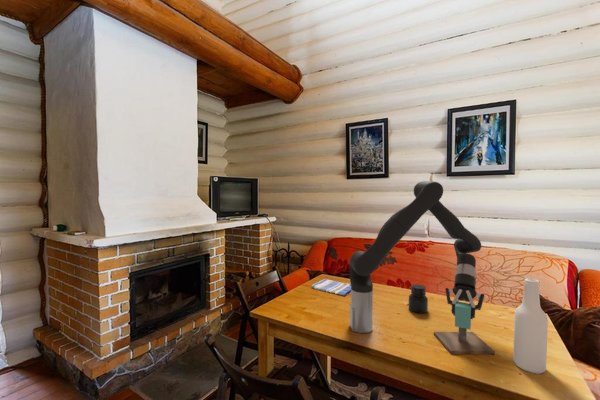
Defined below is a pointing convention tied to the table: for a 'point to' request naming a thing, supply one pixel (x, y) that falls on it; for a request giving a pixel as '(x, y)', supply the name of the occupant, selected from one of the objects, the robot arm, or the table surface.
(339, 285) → the dish towel
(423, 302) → the ink bottle
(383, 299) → the table surface
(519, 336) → the alcohol
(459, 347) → the post board
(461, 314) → the tall teal pillar
